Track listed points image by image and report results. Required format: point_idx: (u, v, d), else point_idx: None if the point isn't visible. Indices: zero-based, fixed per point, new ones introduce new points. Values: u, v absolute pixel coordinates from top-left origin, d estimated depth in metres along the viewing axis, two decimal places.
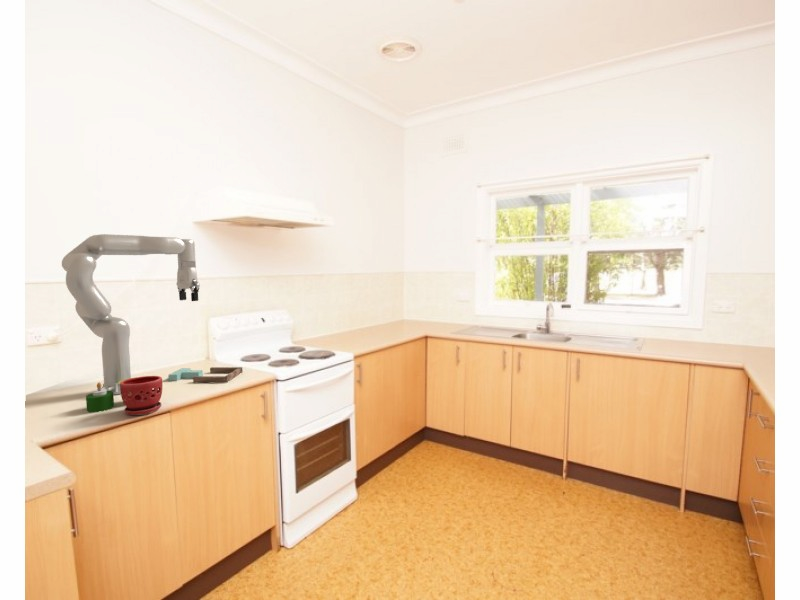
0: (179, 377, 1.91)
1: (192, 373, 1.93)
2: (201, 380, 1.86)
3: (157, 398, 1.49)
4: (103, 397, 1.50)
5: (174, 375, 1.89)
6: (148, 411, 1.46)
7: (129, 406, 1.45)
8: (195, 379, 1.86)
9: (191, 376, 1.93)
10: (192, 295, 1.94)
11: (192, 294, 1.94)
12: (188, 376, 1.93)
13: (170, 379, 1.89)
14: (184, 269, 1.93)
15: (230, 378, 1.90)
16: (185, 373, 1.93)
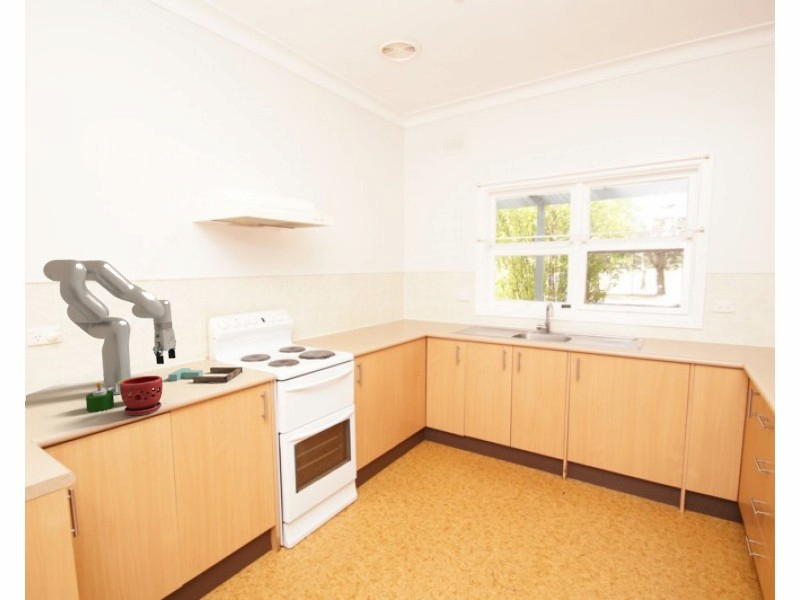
0: (179, 377, 1.91)
1: (192, 373, 1.93)
2: (201, 380, 1.86)
3: (157, 398, 1.49)
4: (103, 397, 1.50)
5: (174, 375, 1.89)
6: (148, 411, 1.46)
7: (129, 406, 1.45)
8: (195, 379, 1.86)
9: (191, 376, 1.93)
10: None
11: None
12: (188, 376, 1.93)
13: (170, 379, 1.89)
14: (171, 329, 1.96)
15: (230, 378, 1.90)
16: (185, 373, 1.93)
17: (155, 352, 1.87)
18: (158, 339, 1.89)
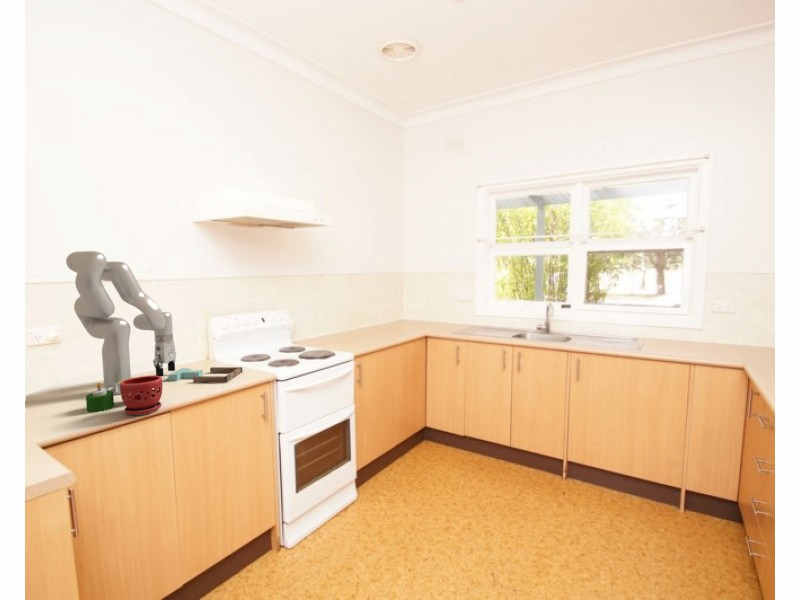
0: (179, 377, 1.91)
1: (192, 373, 1.93)
2: (201, 380, 1.86)
3: (157, 398, 1.49)
4: (103, 397, 1.50)
5: (174, 375, 1.89)
6: (148, 411, 1.46)
7: (129, 406, 1.45)
8: (195, 379, 1.86)
9: (191, 376, 1.93)
10: None
11: None
12: (188, 376, 1.93)
13: (170, 379, 1.89)
14: (172, 341, 1.96)
15: (230, 378, 1.90)
16: (185, 373, 1.93)
17: (155, 364, 1.87)
18: (158, 351, 1.89)
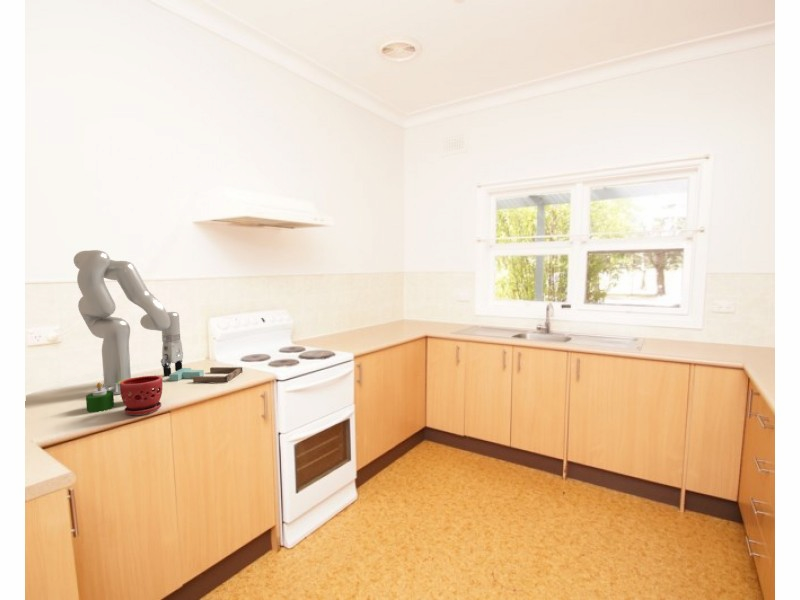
0: (180, 377, 1.91)
1: (193, 373, 1.93)
2: (201, 380, 1.86)
3: (157, 398, 1.49)
4: (103, 397, 1.50)
5: (175, 375, 1.89)
6: (148, 411, 1.46)
7: (129, 406, 1.45)
8: (195, 379, 1.86)
9: (192, 376, 1.93)
10: None
11: None
12: (189, 376, 1.93)
13: (171, 379, 1.89)
14: (179, 341, 1.96)
15: (230, 378, 1.90)
16: (186, 373, 1.93)
17: (163, 364, 1.87)
18: (166, 351, 1.89)
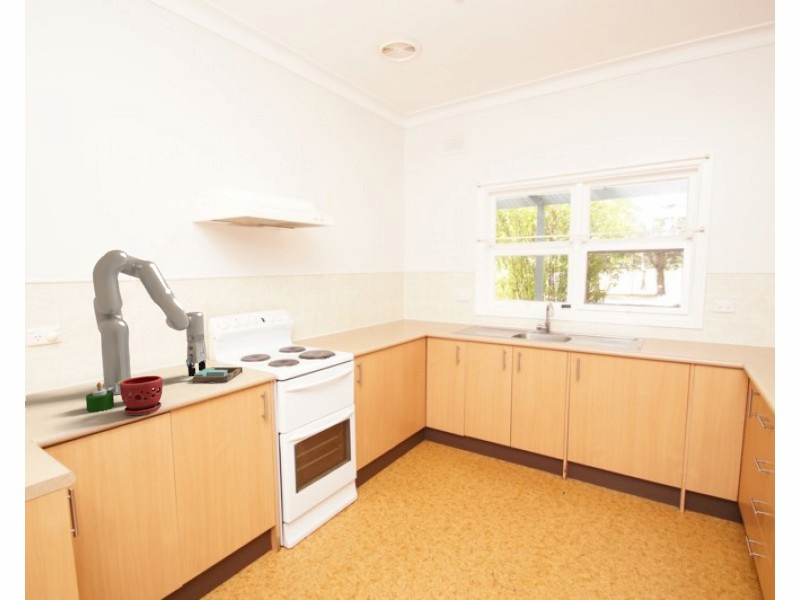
0: None
1: (217, 373, 1.93)
2: (201, 380, 1.86)
3: (157, 398, 1.49)
4: (103, 397, 1.50)
5: (200, 375, 1.89)
6: (148, 411, 1.46)
7: (129, 406, 1.45)
8: (195, 379, 1.86)
9: None
10: None
11: None
12: None
13: None
14: (203, 341, 1.96)
15: (230, 378, 1.90)
16: (210, 373, 1.93)
17: (188, 364, 1.87)
18: (191, 351, 1.89)
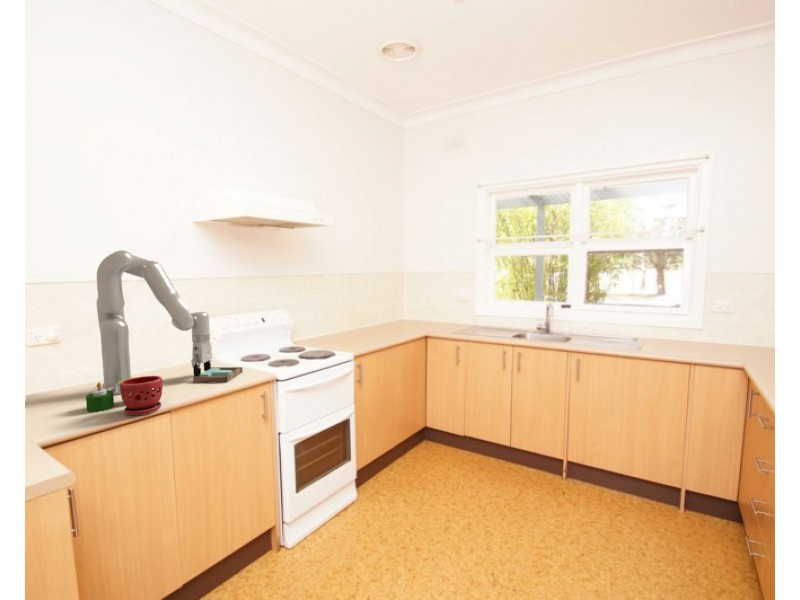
0: None
1: (223, 373, 1.93)
2: (201, 380, 1.86)
3: (157, 398, 1.49)
4: (103, 397, 1.50)
5: (205, 375, 1.89)
6: (148, 411, 1.46)
7: (129, 406, 1.45)
8: (195, 379, 1.86)
9: None
10: None
11: None
12: None
13: None
14: (208, 341, 1.96)
15: (230, 378, 1.90)
16: (216, 373, 1.93)
17: (193, 364, 1.87)
18: (196, 351, 1.89)
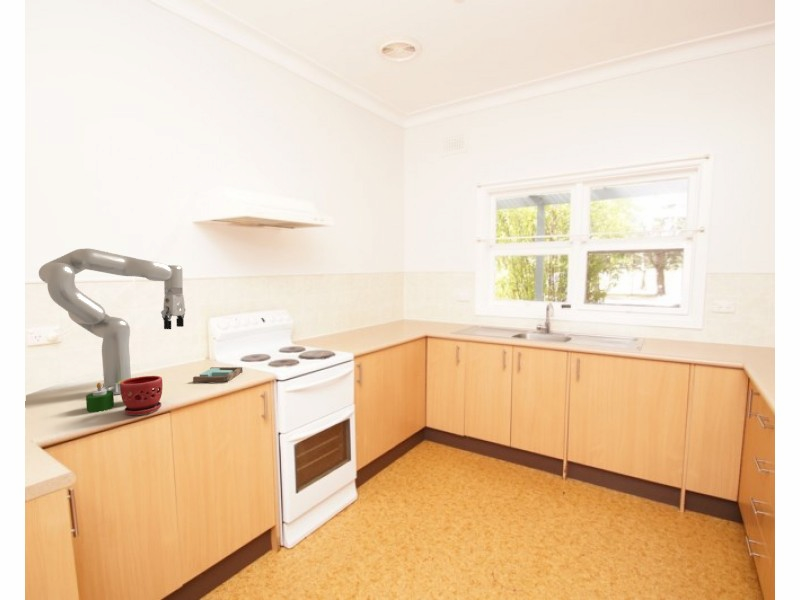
0: None
1: (223, 373, 1.93)
2: (201, 380, 1.86)
3: (157, 398, 1.49)
4: (103, 397, 1.50)
5: (205, 375, 1.89)
6: (148, 411, 1.46)
7: (129, 406, 1.45)
8: (195, 379, 1.86)
9: None
10: None
11: None
12: None
13: None
14: (181, 295, 1.94)
15: (230, 378, 1.90)
16: (216, 373, 1.93)
17: (163, 316, 1.85)
18: (167, 303, 1.87)
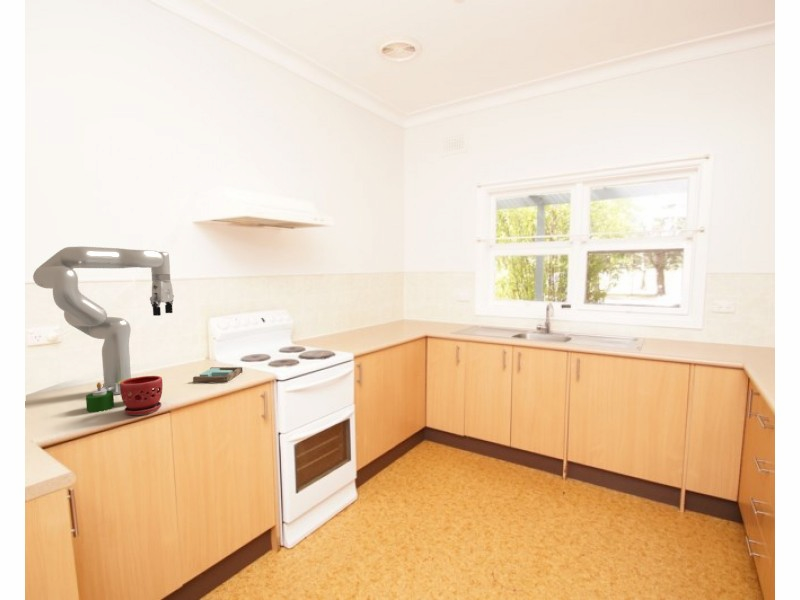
0: None
1: (223, 373, 1.93)
2: (201, 380, 1.86)
3: (157, 398, 1.49)
4: (103, 397, 1.50)
5: (205, 375, 1.89)
6: (148, 411, 1.46)
7: (129, 406, 1.45)
8: (195, 379, 1.86)
9: None
10: None
11: None
12: None
13: None
14: (169, 282, 1.94)
15: (230, 378, 1.90)
16: (216, 373, 1.93)
17: (152, 302, 1.85)
18: (155, 290, 1.88)
